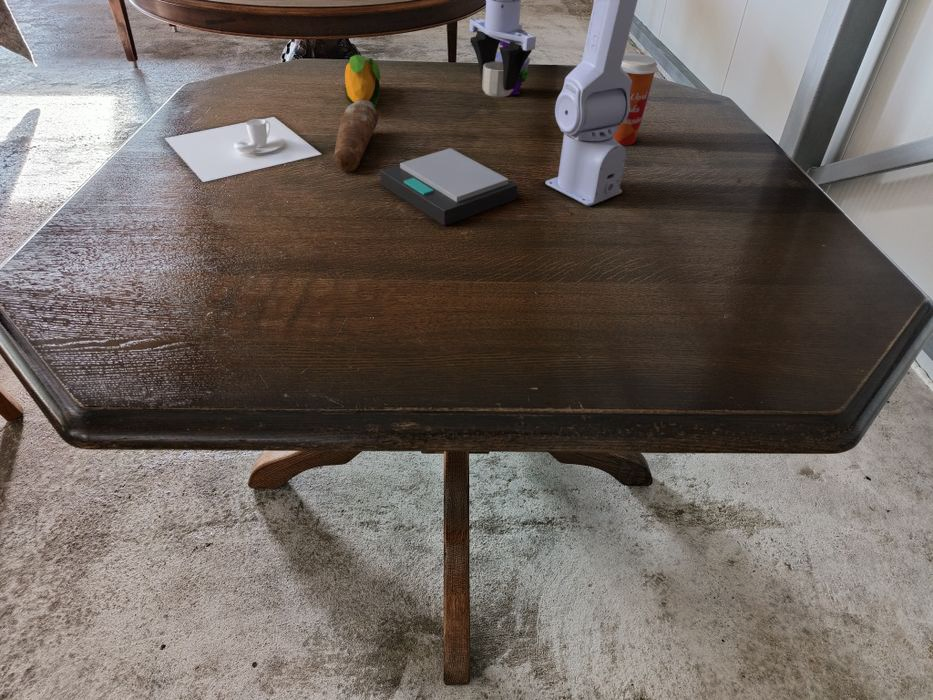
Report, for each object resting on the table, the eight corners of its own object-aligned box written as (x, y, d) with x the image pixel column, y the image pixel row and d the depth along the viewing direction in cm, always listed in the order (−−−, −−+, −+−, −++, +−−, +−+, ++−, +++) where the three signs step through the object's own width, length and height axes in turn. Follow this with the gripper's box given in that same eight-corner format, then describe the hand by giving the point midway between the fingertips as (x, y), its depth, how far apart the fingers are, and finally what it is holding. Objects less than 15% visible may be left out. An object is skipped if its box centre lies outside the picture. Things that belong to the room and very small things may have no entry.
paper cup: (597, 144, 113) (611, 62, 104) (600, 129, 119) (614, 50, 110) (641, 150, 112) (659, 67, 103) (642, 134, 117) (660, 55, 108)
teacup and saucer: (241, 160, 102) (236, 136, 100) (224, 144, 107) (219, 120, 105) (291, 149, 107) (288, 125, 104) (273, 133, 111) (269, 110, 109)
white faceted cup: (518, 93, 112) (521, 67, 109) (496, 99, 109) (498, 72, 106) (498, 85, 115) (500, 59, 112) (476, 91, 112) (477, 64, 109)
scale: (516, 199, 96) (518, 179, 94) (444, 226, 89) (444, 205, 86) (450, 163, 105) (451, 144, 103) (381, 185, 98) (380, 165, 96)
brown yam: (379, 130, 114) (378, 99, 111) (361, 176, 100) (359, 142, 96) (345, 128, 114) (342, 97, 111) (322, 174, 100) (318, 139, 96)
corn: (377, 45, 128) (379, 76, 113) (382, 84, 133) (384, 118, 118) (341, 48, 128) (338, 80, 113) (347, 86, 133) (345, 122, 118)
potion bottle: (527, 100, 129) (533, 37, 122) (486, 98, 130) (489, 35, 122) (526, 86, 136) (532, 26, 128) (486, 84, 136) (490, 24, 128)
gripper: (552, 4, 100) (543, 91, 109) (492, -13, 108) (488, 70, 117) (520, 9, 96) (513, 99, 105) (461, -9, 105) (459, 76, 113)
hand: (498, 84), depth 111 cm, fingers closed on white faceted cup, 5 cm apart
